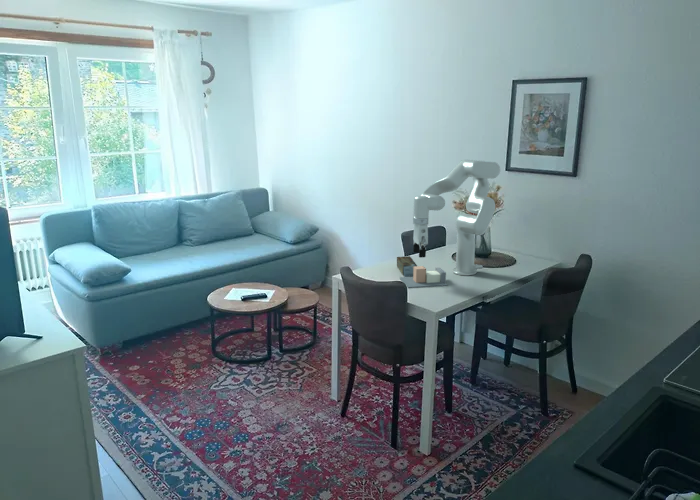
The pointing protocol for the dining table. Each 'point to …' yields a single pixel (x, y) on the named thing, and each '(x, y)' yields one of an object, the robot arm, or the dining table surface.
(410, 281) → the mat
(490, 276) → the dining table surface
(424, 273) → the tan rectangular block
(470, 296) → the dining table surface
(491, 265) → the dining table surface
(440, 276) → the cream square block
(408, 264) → the beverage carton
